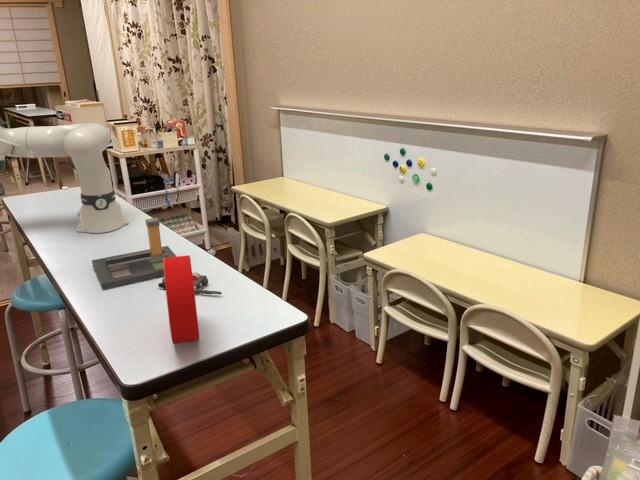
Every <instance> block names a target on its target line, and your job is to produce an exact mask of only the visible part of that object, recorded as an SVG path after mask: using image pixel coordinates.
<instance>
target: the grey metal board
mask: <svg viewBox="0 0 640 480" xmlns="http://www.w3.org/2000/svg"><path fill="white" fill-rule="evenodd" d="M169 257H178V256H177V255H176V254H175V253H174V251H172V249H171V248H170V247H169V245H165V246H162V255H157V256H152V257H151V252H150V248H148V249H144V250H138V251H133V252H129V253H123V254H117V255H113V256H107V257H102V258H96V259H92V260H91V264H92V267H93V271H94V272H95V274H97V275H96V276H97V279H98V281H100V282H99V283H100V286H101V289H102V290H103V291H104V290H108V289H114V288H118V287H123V286H128V285H132V284H136V283H141V282H145V281H150V280H154V279H160V278H164V277H165V276H164V258H169Z"/></svg>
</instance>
